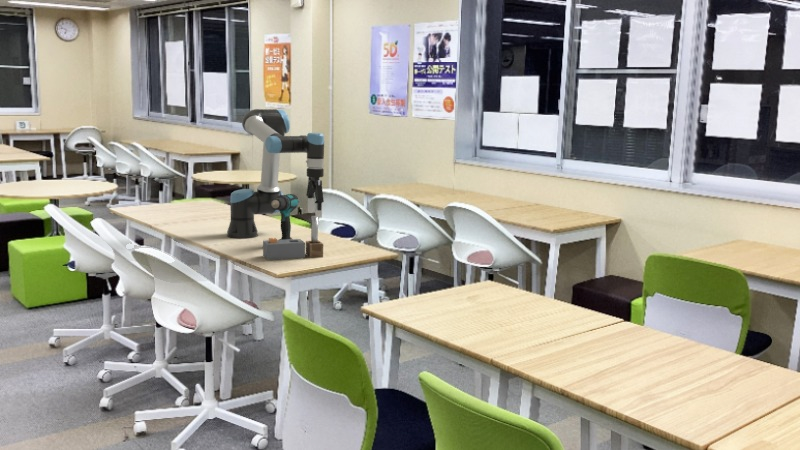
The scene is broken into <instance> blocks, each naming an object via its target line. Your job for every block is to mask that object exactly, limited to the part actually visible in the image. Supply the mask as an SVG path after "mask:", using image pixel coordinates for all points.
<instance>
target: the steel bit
mask: <svg viewBox="0 0 800 450" xmlns="http://www.w3.org/2000/svg"><path fill="white" fill-rule="evenodd" d="M310 219H311V220H310V222H311V223H310V227H311V228H310V232H311V233H310V241H311V244H313V243H318V240H319V218H316V217H315V215H311V218H310Z"/></svg>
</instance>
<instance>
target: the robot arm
mask: <svg viewBox="0 0 800 450" xmlns="http://www.w3.org/2000/svg"><path fill="white" fill-rule="evenodd" d="M290 125H291V123H290V118H289V114H288V113H287V112H286V111H285V110H284V109H277V108H271V109H270V108H269V109H267V108H265V109H264V108H263V109H262V108H255V109H252V110H249V111H247V112H246V113H245V114H244V115H243V117H242V120H241V126H242V128H243V131H245V132H246V133H247V134H248V135H250V136H254V137H256V138H257V139H258V140H260V142H262V145H263V147H262V159H261V160H262V162H261V171H260V173H261V175H260V184H259V185H258V186H257V188H256V189H257V191H255V190H254V189H253V188H242V189H237V190H234V191H233V192H231V193H230V200H229V203H230V221H229V225H228V227H227V231H226V232H227V234H226V235H227V237H229V238H232V239H249V238H250V239H251V238H256V237H258V234H259V233H258V229H257V228H258V227H257V226H256V225H257V224H256V221H255V216H256V215H270V214H271V215H273V214H276V213H280V211H279V210H276V209H273V208H272V207H271V201H272V200H273V199H274V198H277V197H278V196H280V195H284V193H283V191H281V188H280V187H279V184H278V183H279V174H280V170H279V169H280V158H281V154H293V153H294V154H296V153H297V154H301V153H306V160H305V163H306V167H307V168H306V177H307V179H308V180H307V181H308V183H307V187H306V197H307V213H314V212H315V215H314V216H315V217H316V218H318V219H319V218H322V217H323V203H324V201H325V200H324V193H323V181H322V180H320V178H323V177H324V174H325V173H324V170H325V169H324V167H325V156H324V155H325V135H324V133H321V132H308V133H307V134H306V135H305V134H304V135H301V134H300V135H285V134H288V133H289V131H290V128H291V126H290ZM314 198H315V199H314Z"/></svg>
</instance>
